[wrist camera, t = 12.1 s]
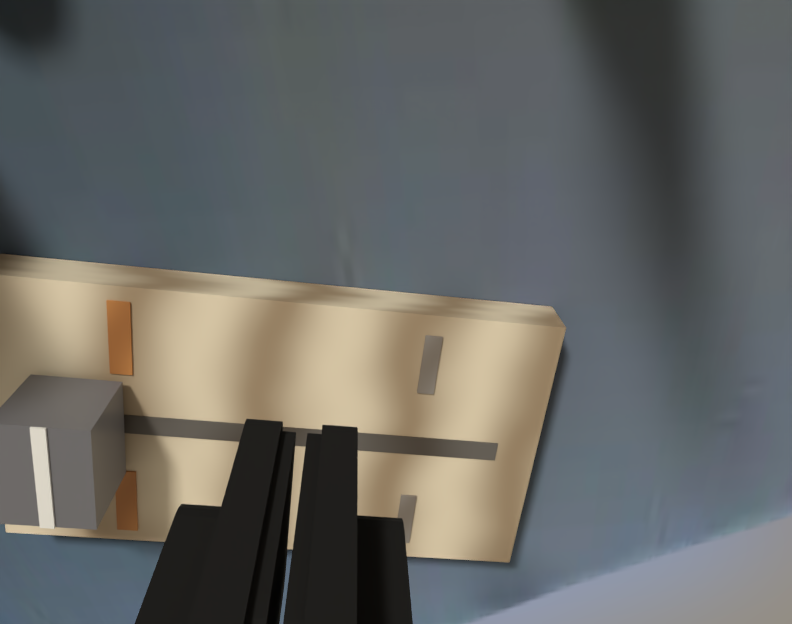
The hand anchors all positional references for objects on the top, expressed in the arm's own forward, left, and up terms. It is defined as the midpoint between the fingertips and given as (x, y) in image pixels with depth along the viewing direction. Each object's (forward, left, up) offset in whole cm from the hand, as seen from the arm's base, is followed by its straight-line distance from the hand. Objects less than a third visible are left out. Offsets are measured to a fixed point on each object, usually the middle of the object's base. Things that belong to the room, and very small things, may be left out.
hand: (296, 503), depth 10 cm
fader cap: (+11, +12, -19) cm, 25 cm away
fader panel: (+2, +12, -22) cm, 25 cm away
